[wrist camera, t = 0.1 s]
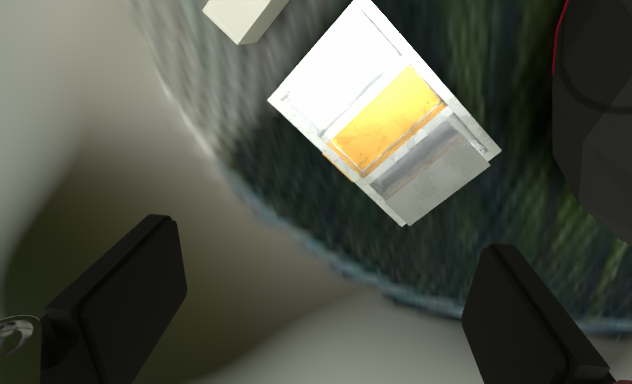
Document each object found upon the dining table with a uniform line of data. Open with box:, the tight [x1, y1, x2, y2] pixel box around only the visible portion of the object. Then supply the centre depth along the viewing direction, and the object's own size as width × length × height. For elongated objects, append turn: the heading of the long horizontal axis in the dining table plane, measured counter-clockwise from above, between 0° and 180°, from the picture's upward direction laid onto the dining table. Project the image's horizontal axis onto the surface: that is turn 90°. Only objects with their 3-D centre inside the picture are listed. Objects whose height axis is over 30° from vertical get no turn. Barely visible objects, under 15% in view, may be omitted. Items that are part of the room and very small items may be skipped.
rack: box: [268, 0, 502, 227], centre depth 36 cm, size 22×14×8 cm, turn 47°
